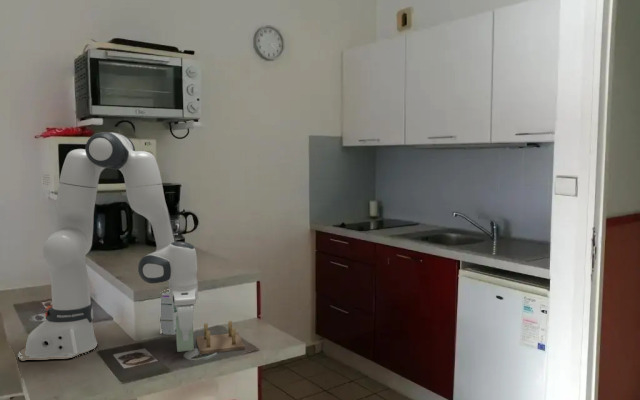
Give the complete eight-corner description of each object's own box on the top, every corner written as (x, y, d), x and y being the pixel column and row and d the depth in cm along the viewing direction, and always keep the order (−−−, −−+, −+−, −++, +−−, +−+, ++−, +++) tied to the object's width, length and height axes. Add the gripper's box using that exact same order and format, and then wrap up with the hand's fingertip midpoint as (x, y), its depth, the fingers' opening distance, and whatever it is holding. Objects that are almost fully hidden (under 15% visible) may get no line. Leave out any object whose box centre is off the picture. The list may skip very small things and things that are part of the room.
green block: (177, 351, 167) (176, 320, 166) (176, 346, 172) (175, 316, 171) (193, 350, 169) (192, 319, 168) (192, 344, 173) (191, 314, 172)
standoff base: (199, 354, 165) (199, 335, 164) (196, 339, 178) (195, 322, 178) (244, 349, 169) (244, 330, 168) (238, 335, 182) (237, 318, 182)
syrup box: (174, 335, 183) (173, 293, 182) (158, 334, 184) (157, 293, 183) (182, 330, 188) (180, 289, 187) (166, 329, 189) (165, 289, 188)
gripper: (172, 286, 178) (173, 326, 179) (174, 301, 158) (175, 347, 159) (191, 284, 180) (192, 324, 181) (196, 300, 160) (197, 344, 161)
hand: (184, 335), depth 170 cm, fingers open, 7 cm apart
